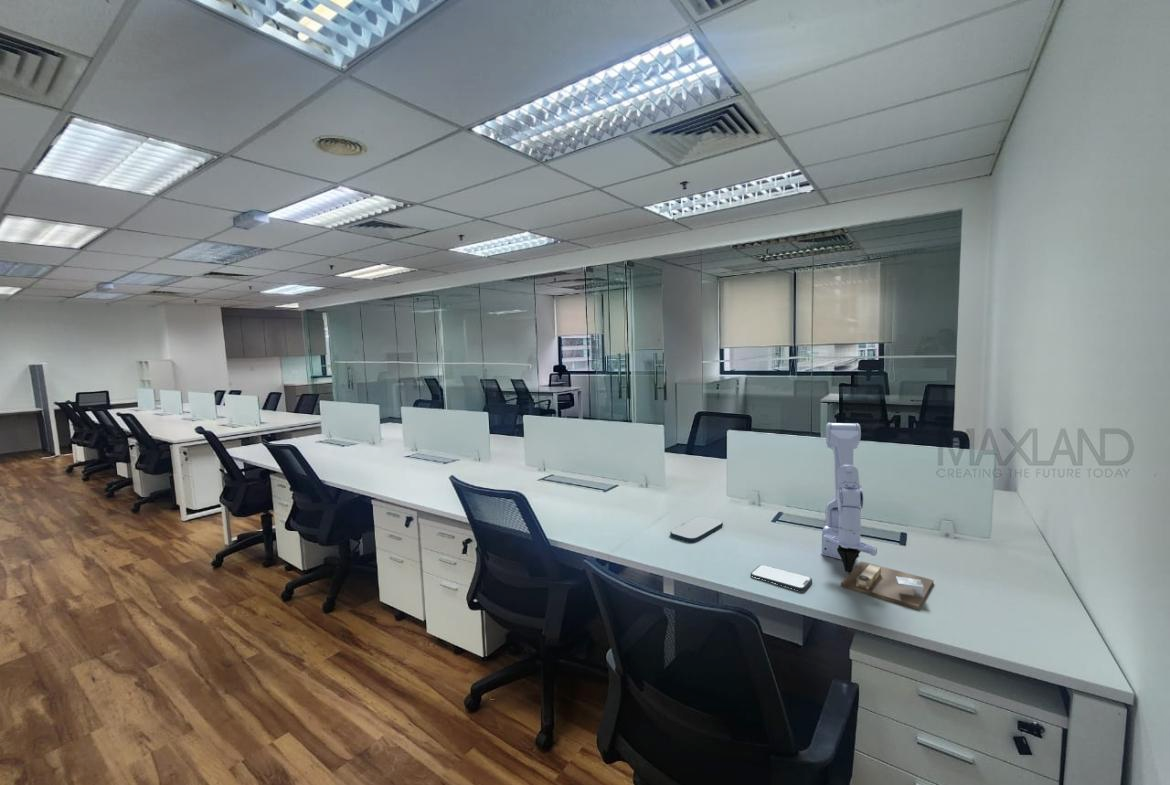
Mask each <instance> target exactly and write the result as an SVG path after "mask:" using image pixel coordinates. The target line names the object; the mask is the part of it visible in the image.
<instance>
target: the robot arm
mask: <svg viewBox="0 0 1170 785" xmlns="http://www.w3.org/2000/svg"><path fill="white" fill-rule="evenodd" d="M861 429H862V428H861V424H859V423H858V422H855V423H851V422H850V423H847V422H846V423H843V422H827V423H826V424H825V436H826V437H825V439H826V441H825V443H826V446H827V448H829V449H831V450H832V453H833V455H834V458H833V459H834V497H835V498H834V499H832V500H831V501H829V502H828V503H827V504H826V508H825V524H826V525H824V527H823V529H822V534H821V552H820V554H821V555H823V556H826V557H830V558H834V559H837V560H838V559H839V560H841V561H842V564H843V568H844V572H846V573H849V574H850V573H851V572H852V570H853V569H854V565H855V562H856V561H857V559H858V556H859V555H860V553H861V552H862V553H865V554H868V555H871V556H874V557H875V556H877V554H878V547H875V546H873V545H871V544H867V543H866V542H863V541H861V525H862V524H861V523H862V522H861V521H862V509H863V507H864V504H865V503H864V502H865V500H864V492H863V489H862V485H861V484H860V477H859V470H858V468H857V467H856V466H854V450H855V449H857V448H858V446H859V444H860V441H861V438H862V432H861V431H862V430H861ZM835 507H838V509H832V508H835Z"/></svg>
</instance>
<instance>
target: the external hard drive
mask: <svg viewBox="0 0 1170 785" xmlns="http://www.w3.org/2000/svg"><path fill="white" fill-rule="evenodd" d="M723 526H724V524H723V521H722V520H721V519H717V518H713V517H709V516H702V515H700V516H695V517H694V518H692V519H690V520H688V521H686V522H684V523H682V524H681V525H679V526H676V527H675V528H673V529H671V530H670V537H671V538H673V539H676V538H677V539H676V540H679V539H680V540H679V541H682V540H684V541H683V542H686V541H688V542H687V543H696V542H695V541H697V542H699V541H701V540H702V538H703V539H704V538H706V537H708V536H709V534H710V535H711V534H713V533H715V532H717V531H718V530H720V529H721V528H723ZM719 528H720V529H719ZM714 531H715V532H714ZM712 532H713V533H712ZM707 535H708V536H707ZM700 539H701V540H700ZM698 540H699V541H698Z"/></svg>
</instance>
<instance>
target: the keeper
mask: <svg viewBox="0 0 1170 785" xmlns="http://www.w3.org/2000/svg"><path fill="white" fill-rule="evenodd" d="M896 581H897V584H898V586H901V587H907V588H912V593H913V596H915V597H921V598H923V590H924V587H923V584H922V582H921V580H919V579H912V578H905V577H898V576H896Z"/></svg>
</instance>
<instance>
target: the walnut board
mask: <svg viewBox="0 0 1170 785" xmlns="http://www.w3.org/2000/svg"><path fill="white" fill-rule="evenodd" d="M869 564H870V565H874V566H878V567H881V574H880V575H879V576H878V578H877V579H876V580H875V581H874V583H873V584H872V585H871V588H869V589H864V588H861V587H859V586H856V585H857V577H858V576H860V575H861V574H862V572H863V571H864V570H865V569H866V568H867V567H868V566H869ZM896 576H898V577H905V578H912V579H919V580H921V582H922V584H923V587H924V590H923V598H921V597H915V596H913V593H912V588H907V587H901V586H898V584H897V581H896ZM933 585H934V579H930V578H928V577H923V576H919V575H916V574H911V573H908V572H904V571H900V570H896V569H892V568H888V567H884V566H881V565H877V564H874V563H870V562H866V561H862V560H861V561H859V563H858V564H857V565H856V566H855V567H853V570H852V572H850V573H849V574H847V576H846V577H845V578H844V579H843V580H842V581H841V582H840V587H841V586H842V588H845V589H847V590H848V589H849V590H853V591H854V592H855V591H856V592H858V593H862V594H866V595H868V596H871V597H875V598H878V599H882V600H885V601H888V602H891V603H894V604H897V605H900V606H905V607H909V608H911V609H914V610H918V611H919V609H920V608H921V606H922V605H923V602H924V601H925V599H926V597H927V595H928V593H929V592H930V590H931V588H932V586H933Z"/></svg>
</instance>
